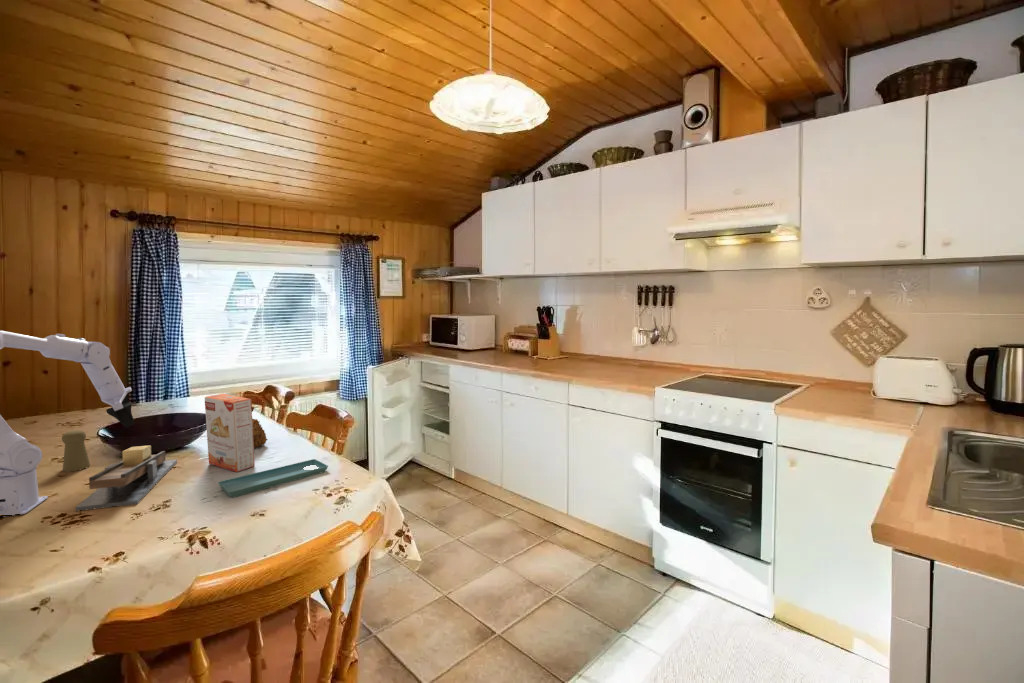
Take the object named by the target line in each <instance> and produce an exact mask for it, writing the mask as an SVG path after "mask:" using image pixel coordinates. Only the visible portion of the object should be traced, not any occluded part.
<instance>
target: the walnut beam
mask: <svg viewBox="0 0 1024 683" xmlns="http://www.w3.org/2000/svg"><path fill="white" fill-rule="evenodd" d="M153 460H156V462H157V465H159V464H161V463H162V462H164V461H165V460H166V451H165V450H163V451H160V452H158V453H157V454H151V458H149V459H148V460H146V461H144V462H142V463H140V464H139V465H129V466H123V460H121V461H119V462H118V463H114V464H115V465H113V466H111V467H109V468H107V469H105V468H104V470H102V471H99V472H98V473H96V474H94V475H92V476H90V477H88V479H89V480H88V482H89V483H88V484H89V488H88V489H89V490H97V489H99V488H108V487H117V486H125V485H127V484H129V483H130V482H132V481H133V480H135V479H137V478H138V477H140V476H141V475H143V474H145V473H146V472H147V464H148V463H149V462H150V461H153Z"/></svg>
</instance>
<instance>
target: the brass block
mask: <svg viewBox="0 0 1024 683" xmlns="http://www.w3.org/2000/svg"><path fill="white" fill-rule="evenodd" d="M151 455H152V445H140V446H139V445H138V446H131V447H129V448H127V449H125V450H122V461H123V466H129V465H139V464H140V463H142V462H144V461H146V460H148V459H149V458H151Z"/></svg>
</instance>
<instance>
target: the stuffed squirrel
mask: <svg viewBox="0 0 1024 683" xmlns="http://www.w3.org/2000/svg"><path fill="white" fill-rule="evenodd" d="M254 410H255V406H252V413H253V412H254ZM252 425H253V444H254V449H257V448H259V447H262V446H265V445H266V443H267V441H268V438H267V434H266V432H265V429H263V427H262V426H263V425H261V424H260V421H259V420H258V419H256V418H252Z"/></svg>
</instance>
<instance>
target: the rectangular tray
mask: <svg viewBox="0 0 1024 683" xmlns="http://www.w3.org/2000/svg"><path fill="white" fill-rule="evenodd" d="M310 465H316V466H317V467H319V468H318V469H314V470H304V469H303V468H304V467H306V466H310ZM328 467H329V465H327V464H325V463H323V462H322V461H319V460H317V459H316V458H313V459H309V460H305V461H300V462H295V463H292V464H288V465H284V466H280V467H275V468H271V469H267V470H263V471H259V472H253V473H250V474H246V475H241V476H238V477H233V478H228V479H224V480H220V481H218V482H217V483H218V485H219V487H220V488H221V490H223V491H224V492H225V493H226V494H227V495H228V496H229V497H231V498H235V497H239V496H242V495H246V494H249V493H253V492H256V491H257V492H258V491H260V490H265V489H268V488H271V487H275V486H279V485H282V484H285V483H286V484H287V483H289V482H293V481H296V480H300V479H304V478H307V477H310V476H311V477H312V476H314V475H319V474H321V472H322V473H325V472H326V471H327V469H328ZM324 471H325V472H324ZM318 473H319V474H318Z"/></svg>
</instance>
